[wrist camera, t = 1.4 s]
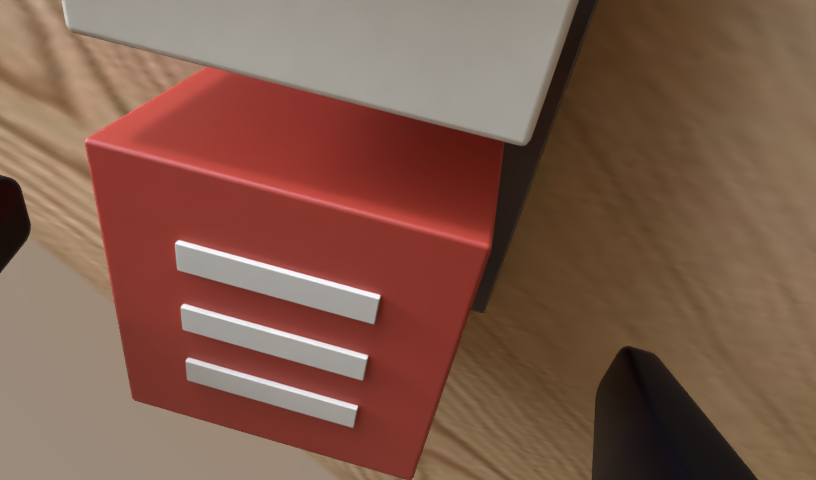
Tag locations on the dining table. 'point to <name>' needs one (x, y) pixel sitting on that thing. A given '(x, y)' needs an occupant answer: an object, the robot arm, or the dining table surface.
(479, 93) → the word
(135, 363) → the white-striped red block
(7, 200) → the robot arm
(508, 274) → the dining table surface
